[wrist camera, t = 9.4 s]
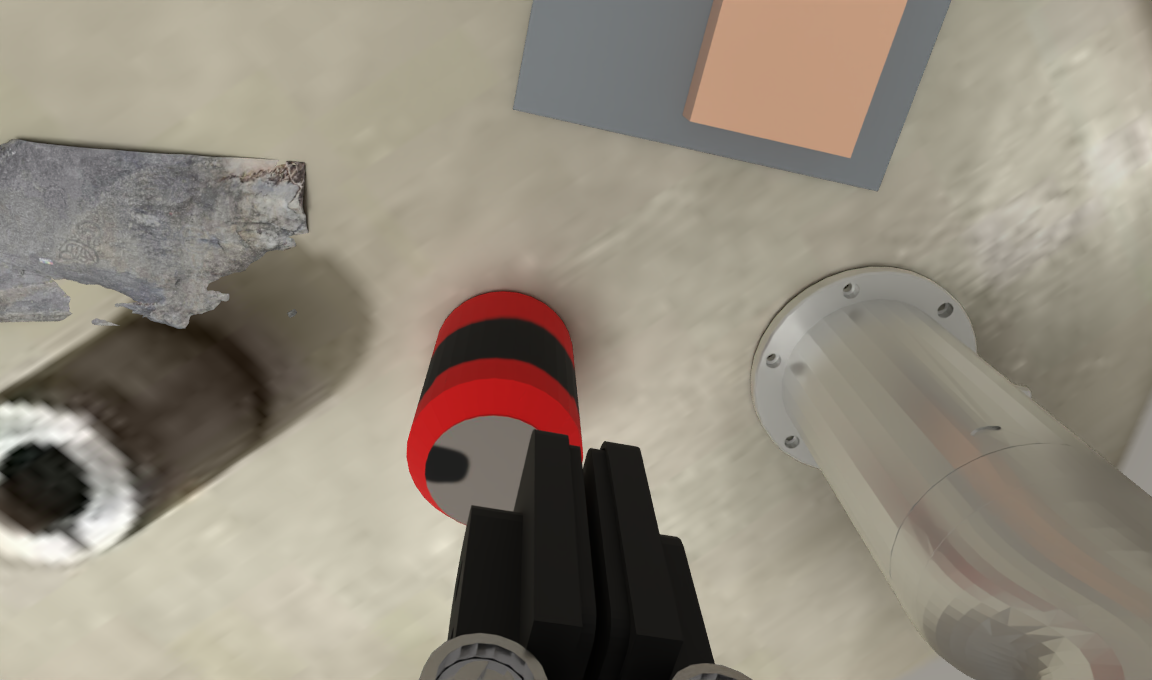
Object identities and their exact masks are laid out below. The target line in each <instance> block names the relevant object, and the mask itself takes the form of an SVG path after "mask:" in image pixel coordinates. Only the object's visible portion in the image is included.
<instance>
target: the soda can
mask: <svg viewBox="0 0 1152 680" xmlns="http://www.w3.org/2000/svg"><path fill="white" fill-rule="evenodd" d="M534 429H536V430H542V431H547V432H553V433H559V434H565V435H568V436H569V445H575V446H580V448H581V457H582V461H583V448H582V437H581V427H580V417H579V407H578V397H577V387H576V377H575V367H574V357H573V348H572V342H571V339H570V335H569V332H568V330H567V328H566V327H565V325H564V323H563V321H562V320H561V319H560V318H559V317H558V315H557V314H556V313H555V312H554V311H553V310H552V309H550V308H549V307H548V306H547V305H545V304H544V303H543V302H541V301H539V300H537V299H535V298H533V297H531V296H527V295H524V294H520V293H516V292H506V291H501V292H490V293H486V294H482V295H479V296H476V297H474V298H472V299H470V300H468V301H466V302H464V303H463V304H461V305H460V306H459V307H457V308H456V309H455V310H454V311H453V312H452V313H451V314H450V315H449V316H448V318H447V319H446V320H445V322H444V323H443V325H442V327H441V329H440V331H439V334H438V338H437V341H436V344H435V348H434V351H433V355H432V358H431V362H430V365H429V369H428V372H427V375H426V379H425V382H424V386H423V389H422V393H421V396H420V400H419V403H418V407H417V410H416V413H415V417H414V420H413V424H412V427H411V431H410V434H409V438H408V441H407V462H408V467H409V472H410V474H411V476H412V479H413V481H414V483H415V485H416V487H417V488H418V490H419V491H420V492H421V494H422V495H423V497H424V498H425V499H426V500H427V501H428V502H429V503H430V504H432V505H433V506H434V507H435V508H436V509H437V510H439V511H441V512H442V513H444V514H445V515H447V516H448V517H450V518H452V519H454V520H456V521H457V522H459V523H462V524H464V525H466V526H467V522H468V517H469V512H470V508H471V506H472V505H474V506H481V507H487V508H494V509H500V510H506V511H514V506H515V502H516V498H517V493H518V489H519V485H520V480H521V476H522V472H523V468H524V463H525V459H526V455H527V450H528V446H529V442H530V438H531V434H532V431H533V430H534Z"/></svg>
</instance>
